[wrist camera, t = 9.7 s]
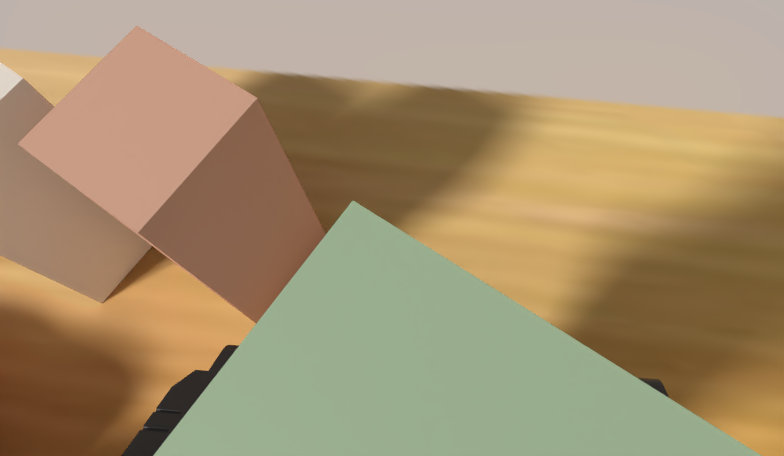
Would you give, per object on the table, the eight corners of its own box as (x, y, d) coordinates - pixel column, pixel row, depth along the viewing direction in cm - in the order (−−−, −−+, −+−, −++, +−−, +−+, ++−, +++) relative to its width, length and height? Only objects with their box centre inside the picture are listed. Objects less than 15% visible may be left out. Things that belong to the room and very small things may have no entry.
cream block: (31, 246, 25) (-204, 121, 16) (104, 168, 27) (-76, 10, 17) (102, 303, 24) (-108, 203, 15) (175, 218, 25) (23, 78, 16)
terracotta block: (177, 264, 25) (17, 143, 15) (246, 183, 26) (136, 25, 16) (258, 324, 23) (137, 232, 14) (326, 236, 24) (257, 97, 15)
